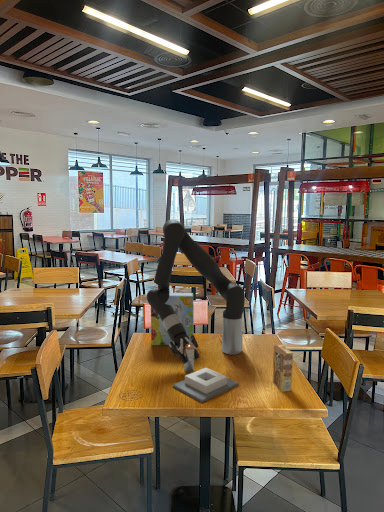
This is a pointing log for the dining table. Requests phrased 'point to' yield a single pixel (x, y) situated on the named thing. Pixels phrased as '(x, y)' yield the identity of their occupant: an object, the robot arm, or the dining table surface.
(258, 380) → the dining table surface
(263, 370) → the dining table surface
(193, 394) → the dock
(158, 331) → the snack box
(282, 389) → the candy box
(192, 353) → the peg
